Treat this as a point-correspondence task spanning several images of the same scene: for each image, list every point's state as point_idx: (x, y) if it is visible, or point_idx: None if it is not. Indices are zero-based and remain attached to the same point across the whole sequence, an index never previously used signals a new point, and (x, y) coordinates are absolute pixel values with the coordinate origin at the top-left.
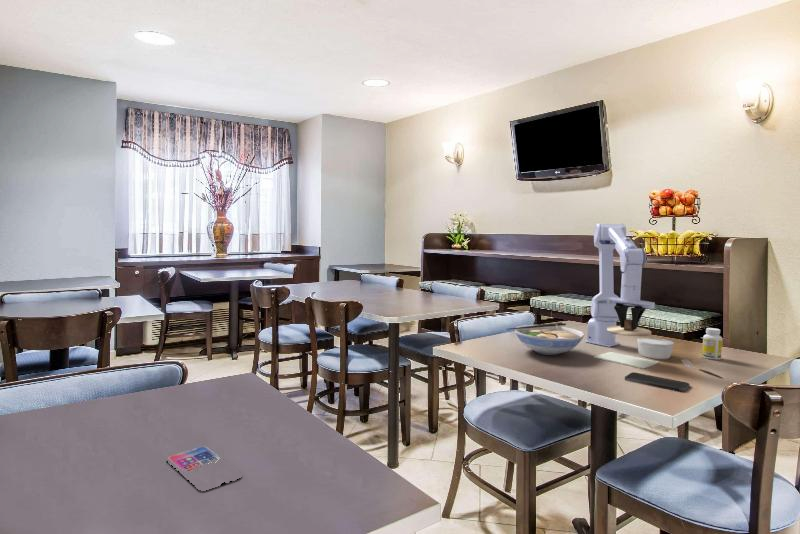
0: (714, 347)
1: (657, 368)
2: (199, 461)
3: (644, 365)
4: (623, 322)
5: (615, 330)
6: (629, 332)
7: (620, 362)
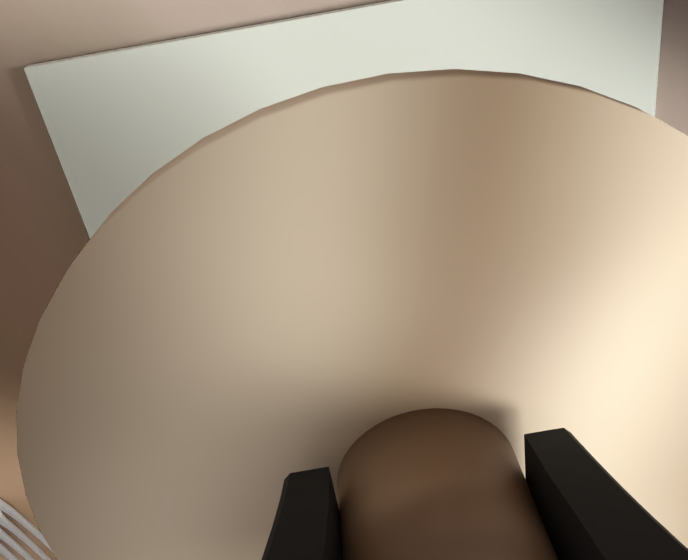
0: None
1: (3, 227)
2: None
3: (91, 161)
4: (567, 552)
5: (568, 232)
6: (271, 320)
7: (305, 18)
